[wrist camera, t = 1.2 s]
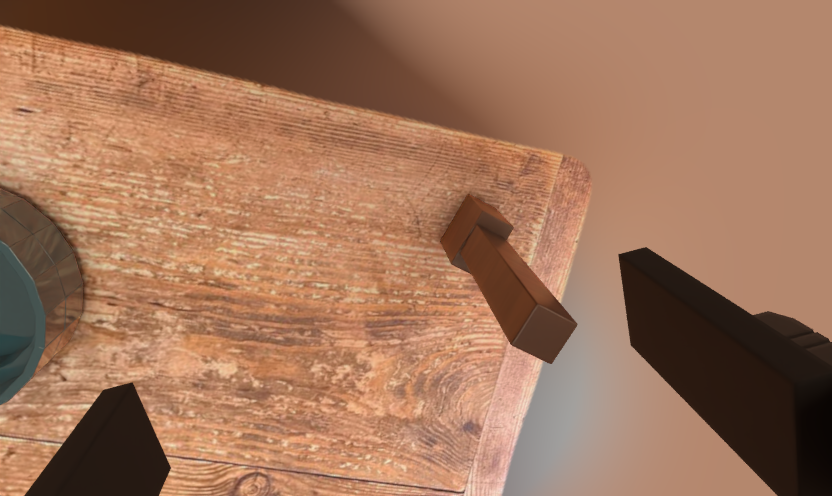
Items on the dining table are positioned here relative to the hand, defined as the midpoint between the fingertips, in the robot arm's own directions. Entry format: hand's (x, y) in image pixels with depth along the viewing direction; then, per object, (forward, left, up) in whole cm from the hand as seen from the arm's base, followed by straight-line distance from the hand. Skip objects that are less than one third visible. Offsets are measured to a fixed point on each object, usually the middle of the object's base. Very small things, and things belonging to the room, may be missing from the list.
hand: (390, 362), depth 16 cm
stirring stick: (0, +8, -27) cm, 28 cm away
